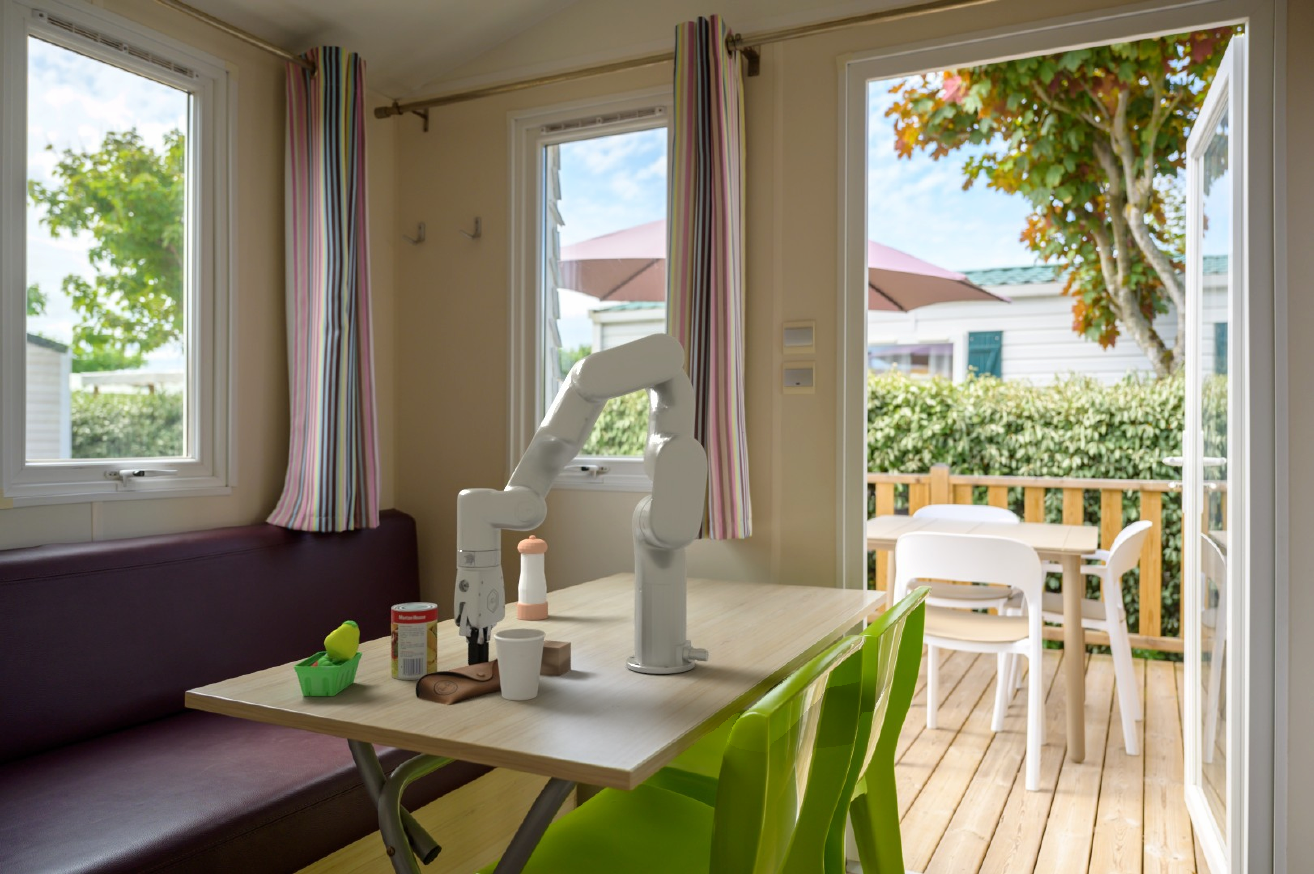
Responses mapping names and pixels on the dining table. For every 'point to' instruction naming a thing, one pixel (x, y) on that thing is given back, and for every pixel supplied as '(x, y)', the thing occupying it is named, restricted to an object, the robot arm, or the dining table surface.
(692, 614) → the dining table surface
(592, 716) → the dining table surface
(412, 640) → the canned food
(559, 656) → the walnut block
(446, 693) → the sunglasses case
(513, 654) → the dixie cup
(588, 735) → the dining table surface
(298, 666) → the fruit basket
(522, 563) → the pepper shaker
